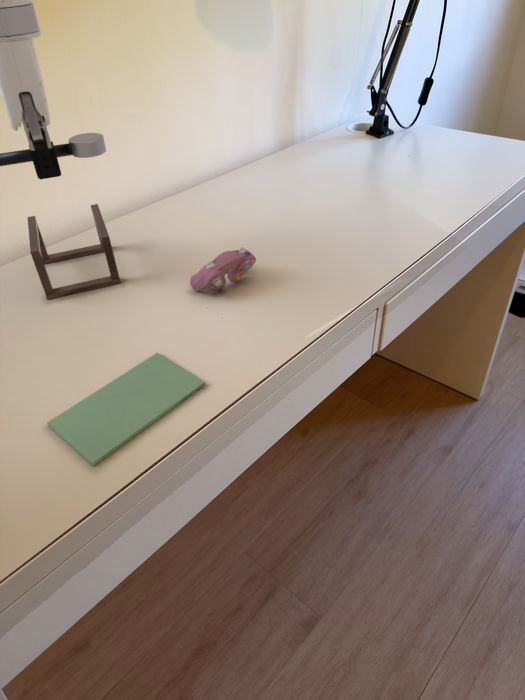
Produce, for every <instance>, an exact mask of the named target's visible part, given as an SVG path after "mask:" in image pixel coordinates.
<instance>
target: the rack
mask: <svg viewBox="0 0 525 700" xmlns="http://www.w3.org/2000/svg"><path fill="white" fill-rule="evenodd" d="M90 209H91V214H92V217H93V220H94V225H95V228H96V233H97V236H98V240H99V244H94V245H89V246H83V247H79V248H75V249H74V248H73V249H69V250H65V251H60V252H55V253H50V254H49V252H48V250H47V247H46V243H45V241H44V237H43V235H42V232H41V229H40V227H39V223H38V220H37V217H36V215H31V216H27V228H28V240H29V250H30V251H29V252H30V256H31V258H32V261H33V264H34V266H35V270H36V272H37V274H38V278H39V280H40V284H41V286H42V289H43V291H44V294H45V297H46V300H53V299H56V298H62V297H66V296H69V295H75V294H79V293H83V292H87V291H92V290H97V289H100V288H105V287H110V286H113V285H118V284H121V278H120V274H119V270H118V267H117V263H116V262H117V261H116V258H115V254H114V251H113V246H112V243H111V238H110V235H109V232H108V229H107V227H106V224H105V221H104V218H103V214H102V212H101V209H100V207H99V204H98V203H95V204H90ZM98 253H104V256H105V261H106V264H107V267H108V272H109V275H108V276H103V277H99V278H94V279H90V280H86V281H82V282H77V283H72V284H68V285H64V286H63V285H62V286H59V287H55V288H54V287H53V285H52V281H51V279H50V276H49V273H48V270H47V267H46V264H52V263H56V262H61V261H65V260H66V261H67V260H70V259H75V258H79V257H84V256H90V255H93V254H98Z"/></svg>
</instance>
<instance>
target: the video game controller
mask: <svg viewBox="0 0 525 700" xmlns="http://www.w3.org/2000/svg"><path fill="white" fill-rule="evenodd" d="M256 262H257V257H256V256H255V255H254V254H253V253H252V252H251V251H250V250H248V249H245V248H244V247H243V246H242V247H240V248H239V249H237V250H236V249H235V250H234V249H233V250H227V251H223V252H221V253H220V254H218V255H217V256H216V257H215V258H214V259H213V260H211V261H209V262H207V263H206V264H205V265H203V266H202V267H201V268H200V270H199V271H197V272H196V273H195V274H192V276H191V277H190V278H189V279H190V280H189V284H190V287H191V288H192V289H193V290H194V291H196V292H203V291H205V290H207V289H213V290H214V291H219V290H221V289H222V288H224V286H226V284H227V279H228V280H229V281H230V282H231V283H235V282H237V281H239V280H240V279H241V278H242V277H243V275H245V273H246V272H247V271H249V270H250V269H252V267H253V266H254V265H255V264H256ZM225 277H227V279H226V278H225Z"/></svg>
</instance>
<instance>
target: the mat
mask: <svg viewBox="0 0 525 700" xmlns="http://www.w3.org/2000/svg"><path fill="white" fill-rule="evenodd" d="M205 385H206V382H205V381H204V380H202V379H201V378H199V377H197V376H196V375H195V374H192V373H191V372H189V371H188V370H186V369H184V368H183V367H181V366H180V365H178V364H177V363H175V362H173V361H172V360H170V359H169V358H167V357H166V356H164V355H163V354H161V353H159V352H155V353H154V354H153V355H150V356H149V357H147V358H146V359H145V360H143V361H141V362H140V363H139V364H137V365H135V366H133V367H132V368H131V369H129V370H127V371H125V372H124V373H123V374H120V375H119V376H118V377H116V378H115V379H113V380H112V381H110V382H109V383H107V384H105V385H104V386H102V387H101V388H99V389H97V390H95V392H93V393H91V394H89V395H88V396H87V397H85V398H84V399H82V400H80V401H79V402H77V403H75V404H74V405H72V406H71V407H69V408H68V409H65V410H64V411H63V412H61V413H60V414H58V415H57V416H55V417H53V418H51V419H50V420H49V421H47V422H46V424H47V426H48V427H49V428H50V429H51V430H52V431H53V432H54V433H55V434H57V436H59V437H60V438H61V439H62V440H63V441H65V442H66V444H68V445H69V446H70V447H71V448H72V449H73V450H74V451H76V453H78V454H79V455H80V456H81V457H82V458H83V459H84V460H85V461H87V462H88V463H89V464H90V465H91V466H92V467H95V466H96V465H97V464H99V463H100V462H101V461H103V460H105V458H107V457H109V456H110V455H112V453H114V452H116V450H118V449H120V448H121V447H122V446H123V445H125V444H126V443H128V442H129V441H131V440H132V439H134V437H136V436H138V435H139V434H140V433H142V432H143V431H144V430H146V429H147V428H148V427H149V426H151V425H153V424H154V423H155V422H156V421H158V420H159V419H161V418H162V417H164V416H165V415H166V414H167V413H169V412H170V411H172V410H173V409H174V408H176V407H177V406H178V405H180V404H181V403H182V402H184V401H186V399H188V398H190V397H191V396H192V395H193V394H195V393H196V392H198V391H199V390H200V389H202V388H203V387H205Z"/></svg>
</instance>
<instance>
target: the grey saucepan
mask: <svg viewBox="0 0 525 700" xmlns="http://www.w3.org/2000/svg"><path fill="white" fill-rule="evenodd" d="M53 145H54V144H53ZM54 149H55V153H56V156H57V158H63V157H71V156H72V157H74V158H78V159H86V158H87V159H89V158H95V157H99V156H101V155H103V154H105V153H106V152H107V146H106V142H105V138H104V135H103V134H102V133H98V132H85V133H80V134H76V135H73V136H71V137H69V138H68V143H61V144H55V145H54ZM29 150H31V149H30V148H26V149H21V150H13V151H7V152H6V151H5V152H1V153H0V167H3V166H4V167H6V166H11V165H12V166H13V165H18V164H24V163H31V162H32V163H33V161H32V157H31V154H30V151H29Z"/></svg>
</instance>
